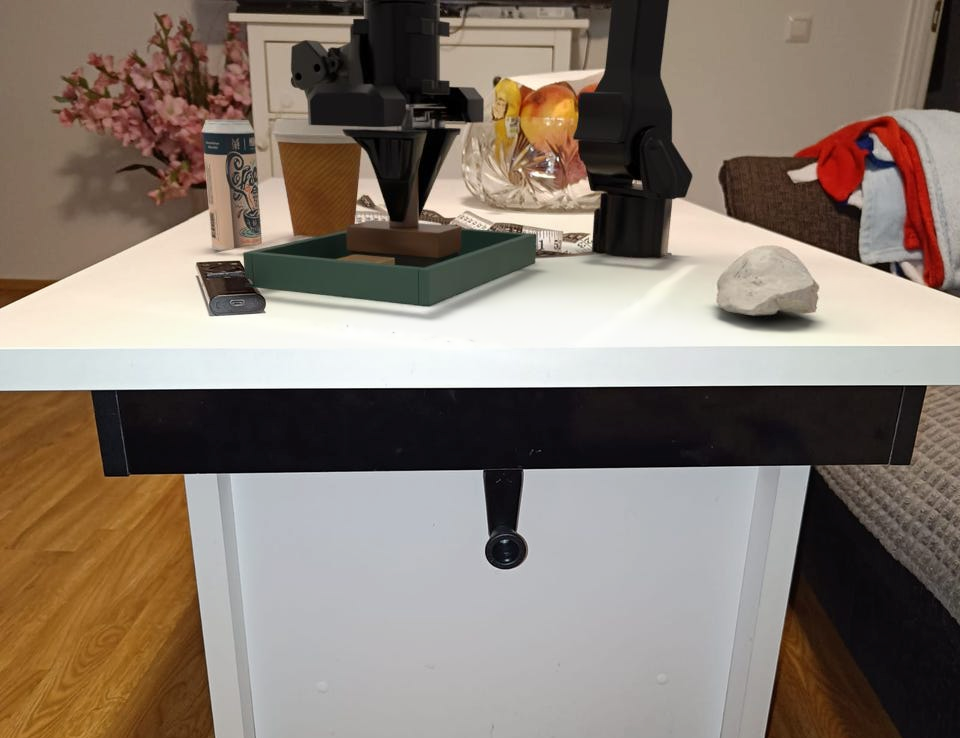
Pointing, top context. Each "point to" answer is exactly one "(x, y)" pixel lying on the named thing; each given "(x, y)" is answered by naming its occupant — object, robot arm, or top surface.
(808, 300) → the grey stone
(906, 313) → the top surface
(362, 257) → the tan square block
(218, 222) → the coffee drink can
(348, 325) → the top surface
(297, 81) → the robot arm
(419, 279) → the tray
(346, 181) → the disposable coffee cup
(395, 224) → the scrub brush
